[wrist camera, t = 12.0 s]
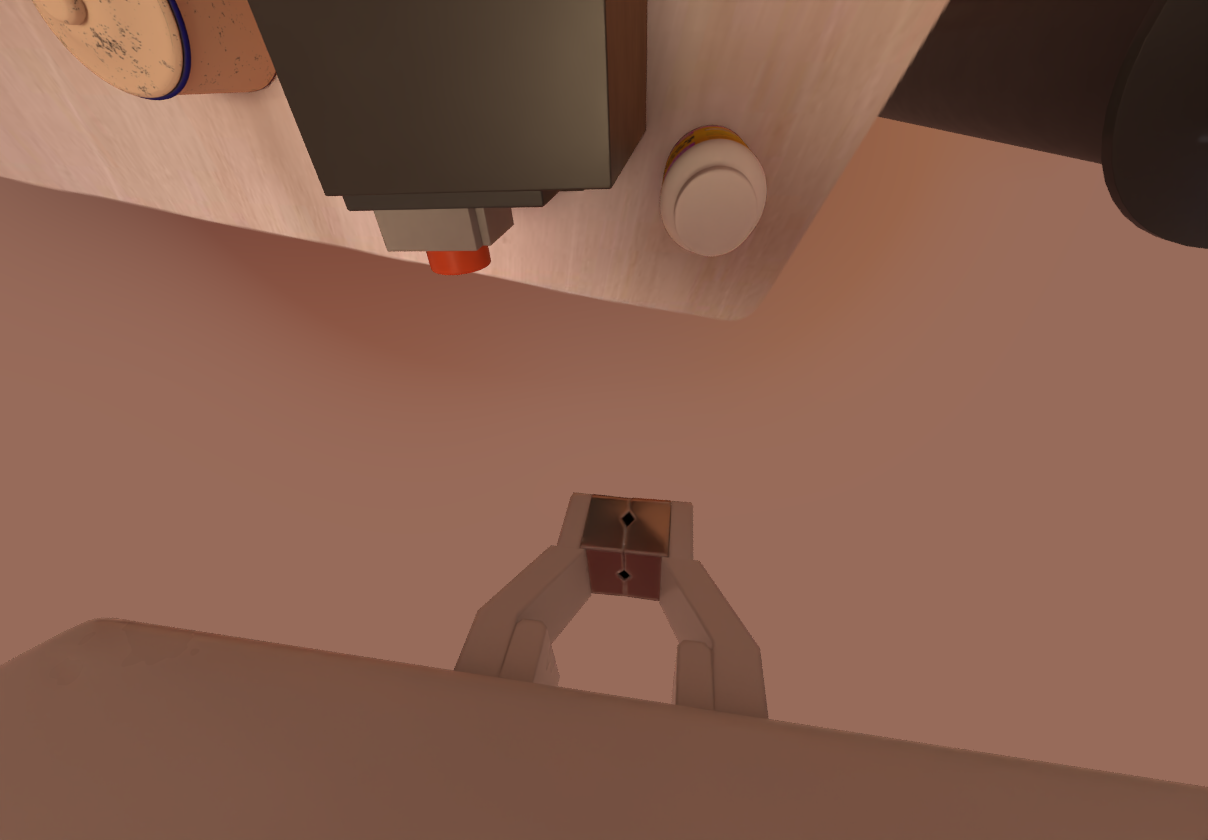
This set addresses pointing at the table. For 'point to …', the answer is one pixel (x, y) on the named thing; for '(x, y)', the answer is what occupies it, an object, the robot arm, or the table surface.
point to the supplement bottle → (712, 191)
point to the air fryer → (460, 105)
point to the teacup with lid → (164, 44)
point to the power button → (458, 261)
